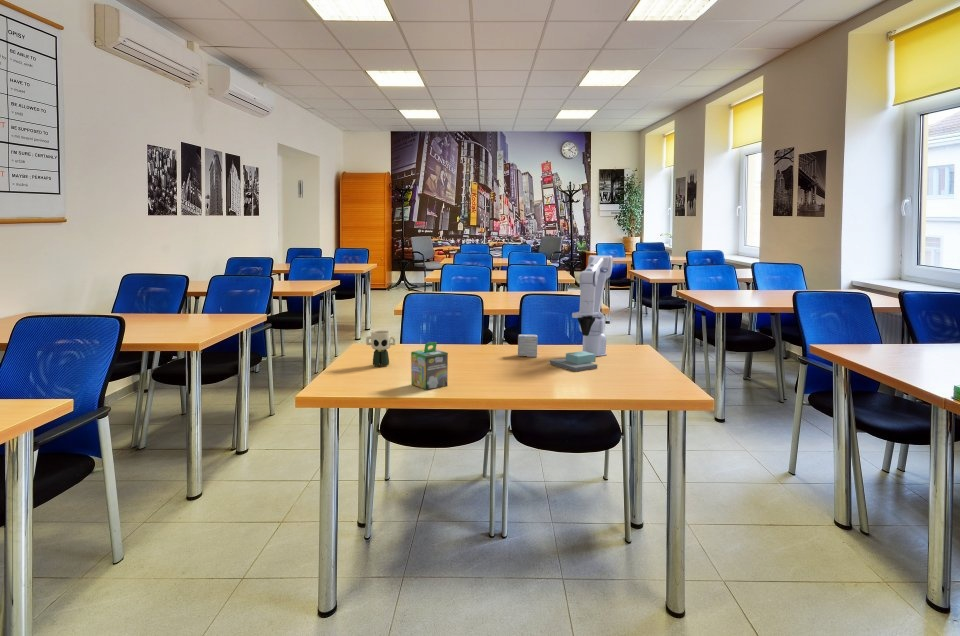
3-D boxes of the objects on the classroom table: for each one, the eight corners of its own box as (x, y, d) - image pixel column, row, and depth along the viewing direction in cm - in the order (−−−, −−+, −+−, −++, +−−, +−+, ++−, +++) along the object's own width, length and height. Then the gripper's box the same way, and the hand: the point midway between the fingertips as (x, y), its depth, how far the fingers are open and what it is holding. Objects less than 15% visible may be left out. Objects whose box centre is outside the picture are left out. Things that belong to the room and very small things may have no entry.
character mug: (365, 367, 238) (365, 333, 236) (367, 363, 245) (367, 330, 243) (394, 367, 238) (394, 333, 237) (396, 363, 245) (395, 330, 244)
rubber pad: (571, 361, 255) (571, 357, 255) (597, 368, 242) (597, 364, 242) (549, 363, 249) (549, 360, 249) (575, 371, 237) (575, 367, 236)
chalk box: (432, 380, 220) (432, 338, 218) (448, 386, 213) (448, 342, 211) (410, 384, 214) (410, 341, 212) (425, 390, 207) (425, 345, 205)
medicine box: (537, 355, 265) (537, 334, 264) (536, 357, 261) (537, 336, 260) (518, 354, 266) (518, 334, 265) (517, 356, 262) (518, 336, 260)
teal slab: (583, 351, 252) (566, 353, 248) (595, 354, 247) (578, 356, 242) (583, 358, 253) (565, 360, 248) (595, 361, 247) (577, 364, 242)
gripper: (591, 300, 260) (589, 333, 261) (567, 300, 251) (565, 335, 252) (605, 301, 255) (603, 335, 256) (580, 302, 246) (578, 337, 247)
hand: (585, 335), depth 254 cm, fingers closed
